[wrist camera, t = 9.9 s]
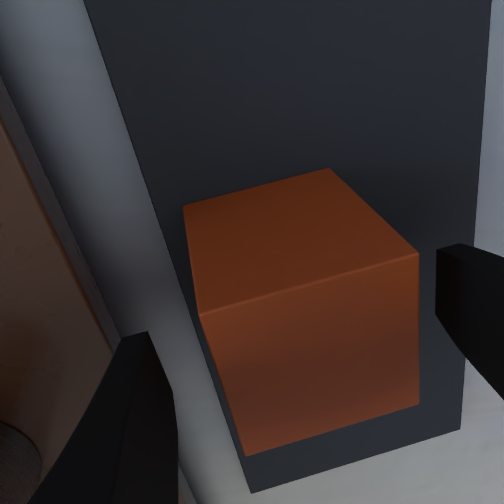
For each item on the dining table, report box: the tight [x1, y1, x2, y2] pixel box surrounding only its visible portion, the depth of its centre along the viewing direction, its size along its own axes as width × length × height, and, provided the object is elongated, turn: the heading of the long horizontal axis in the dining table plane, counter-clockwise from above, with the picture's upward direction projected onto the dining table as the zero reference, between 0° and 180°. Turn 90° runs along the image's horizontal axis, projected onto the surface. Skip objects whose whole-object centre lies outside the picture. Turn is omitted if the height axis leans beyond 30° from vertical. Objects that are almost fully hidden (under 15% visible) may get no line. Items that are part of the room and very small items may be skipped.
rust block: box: [182, 168, 419, 456], centre depth 12 cm, size 4×4×5 cm
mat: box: [83, 0, 492, 494], centre depth 15 cm, size 10×20×1 cm, turn 11°
